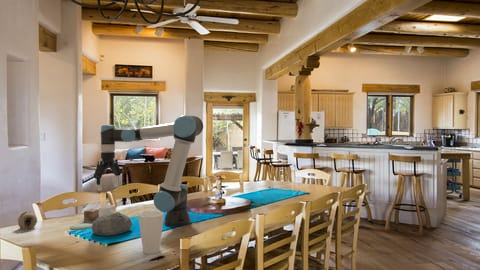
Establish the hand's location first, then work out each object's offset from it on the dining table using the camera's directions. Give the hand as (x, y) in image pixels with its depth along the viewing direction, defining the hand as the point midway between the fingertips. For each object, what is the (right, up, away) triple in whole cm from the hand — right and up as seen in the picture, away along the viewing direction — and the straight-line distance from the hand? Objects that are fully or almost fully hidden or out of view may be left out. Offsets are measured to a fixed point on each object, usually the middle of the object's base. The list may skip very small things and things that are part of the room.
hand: (108, 188), depth 202 cm
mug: (0, -21, 0) cm, 21 cm away
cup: (+36, -22, -43) cm, 60 cm away
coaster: (-14, -21, -3) cm, 26 cm away
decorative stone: (+7, -22, -13) cm, 26 cm away
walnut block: (-15, -21, +12) cm, 28 cm away
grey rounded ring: (-43, -22, -5) cm, 48 cm away
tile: (-15, -21, +12) cm, 28 cm away
